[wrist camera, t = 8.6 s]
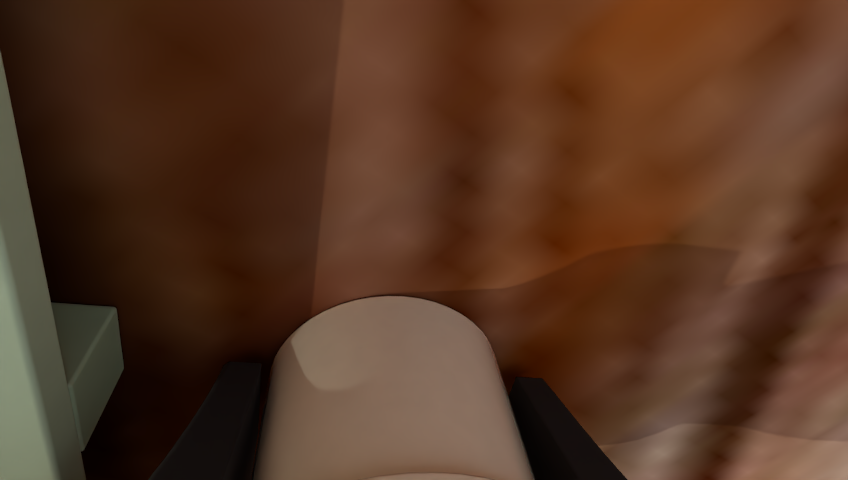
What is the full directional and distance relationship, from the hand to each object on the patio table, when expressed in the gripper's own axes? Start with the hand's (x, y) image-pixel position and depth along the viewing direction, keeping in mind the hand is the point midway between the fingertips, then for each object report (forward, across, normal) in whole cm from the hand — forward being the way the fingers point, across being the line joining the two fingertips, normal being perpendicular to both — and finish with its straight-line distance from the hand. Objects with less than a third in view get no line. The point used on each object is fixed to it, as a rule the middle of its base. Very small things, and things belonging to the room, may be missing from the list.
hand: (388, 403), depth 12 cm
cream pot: (0, 0, 0) cm, 0 cm away
